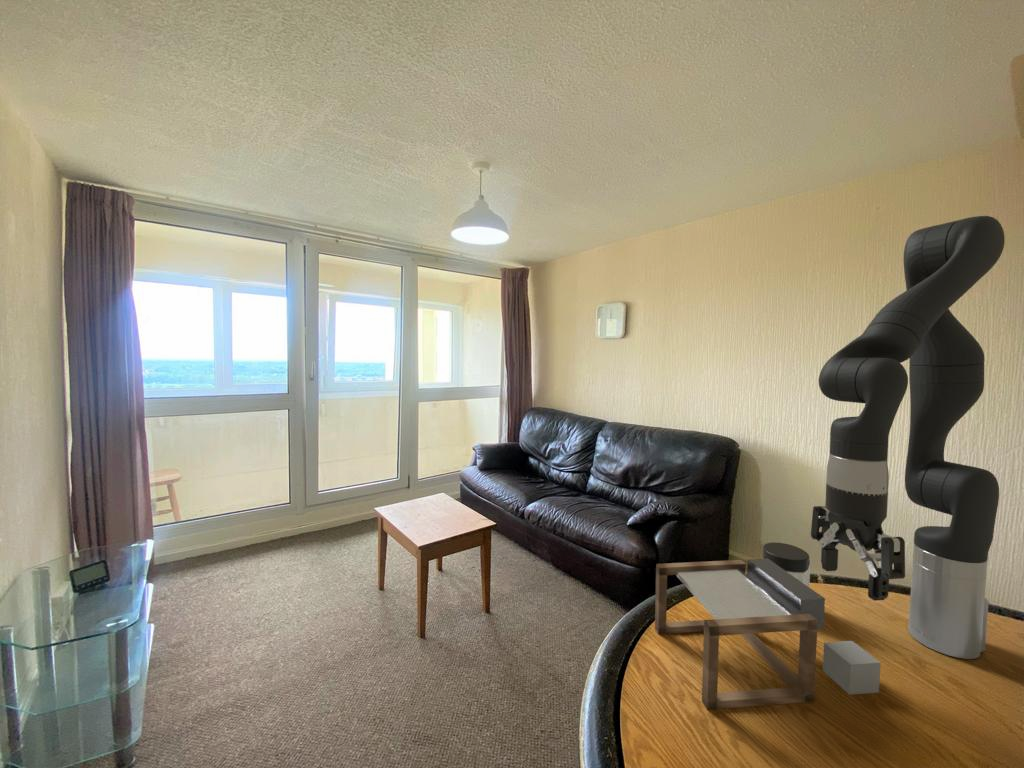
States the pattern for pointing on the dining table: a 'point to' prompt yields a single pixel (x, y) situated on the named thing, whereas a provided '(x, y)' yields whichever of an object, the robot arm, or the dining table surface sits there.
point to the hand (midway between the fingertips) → (851, 583)
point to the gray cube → (851, 667)
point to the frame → (804, 623)
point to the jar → (789, 560)
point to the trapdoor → (753, 592)
